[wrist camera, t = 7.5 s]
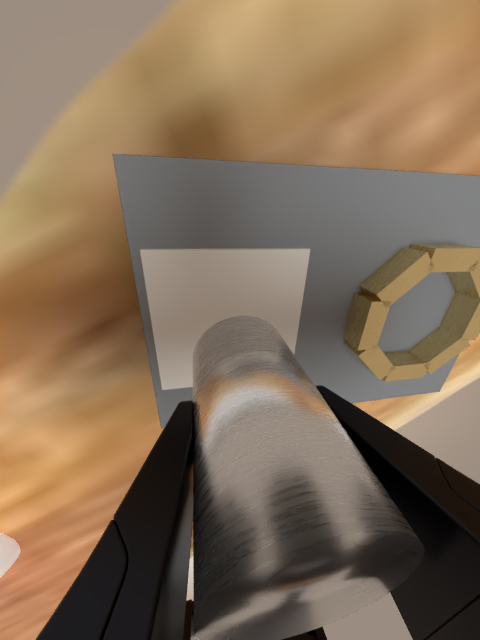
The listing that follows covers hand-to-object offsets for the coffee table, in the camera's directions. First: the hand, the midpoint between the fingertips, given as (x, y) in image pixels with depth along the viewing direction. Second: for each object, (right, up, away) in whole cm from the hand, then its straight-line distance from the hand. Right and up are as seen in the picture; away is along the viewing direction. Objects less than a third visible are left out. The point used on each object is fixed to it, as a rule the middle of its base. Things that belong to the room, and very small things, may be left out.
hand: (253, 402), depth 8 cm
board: (+5, +3, +7) cm, 9 cm away
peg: (0, +1, +2) cm, 3 cm away
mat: (-1, +3, +5) cm, 6 cm away
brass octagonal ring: (+10, +3, +7) cm, 13 cm away
